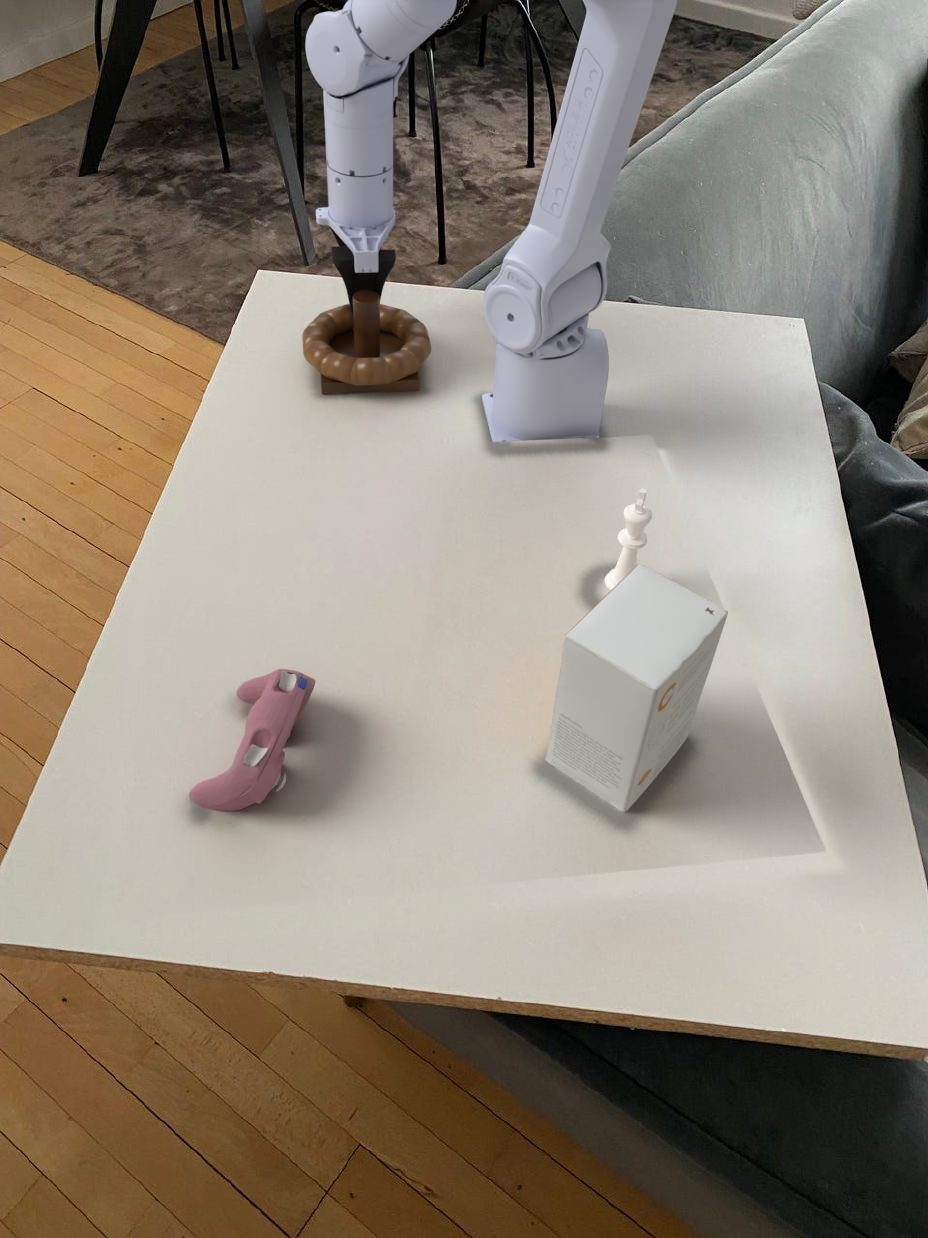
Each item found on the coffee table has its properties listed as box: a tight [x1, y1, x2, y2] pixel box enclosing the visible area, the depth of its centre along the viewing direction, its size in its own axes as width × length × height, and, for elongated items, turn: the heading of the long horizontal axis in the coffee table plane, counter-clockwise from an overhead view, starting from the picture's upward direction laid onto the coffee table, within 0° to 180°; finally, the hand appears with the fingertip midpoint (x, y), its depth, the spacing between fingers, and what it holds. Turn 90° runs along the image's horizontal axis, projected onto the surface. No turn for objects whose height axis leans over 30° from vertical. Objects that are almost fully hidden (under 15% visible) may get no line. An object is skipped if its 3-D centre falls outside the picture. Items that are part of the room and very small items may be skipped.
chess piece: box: [604, 487, 653, 592], centre depth 76 cm, size 5×5×10 cm
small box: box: [544, 563, 729, 813], centre depth 64 cm, size 8×6×13 cm
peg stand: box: [319, 290, 421, 395], centre depth 96 cm, size 9×9×7 cm
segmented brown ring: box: [301, 303, 432, 385], centre depth 97 cm, size 12×12×2 cm
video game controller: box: [188, 668, 316, 812], centre depth 65 cm, size 10×5×7 cm, turn 168°
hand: (363, 305), depth 100 cm, fingers open, 4 cm apart
